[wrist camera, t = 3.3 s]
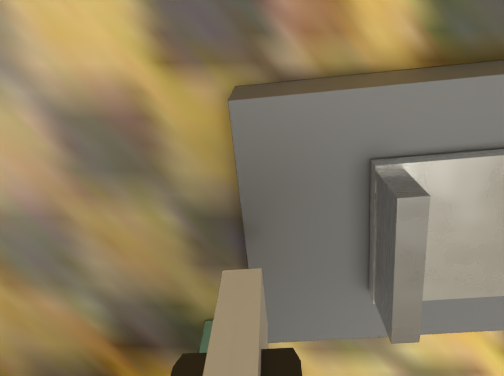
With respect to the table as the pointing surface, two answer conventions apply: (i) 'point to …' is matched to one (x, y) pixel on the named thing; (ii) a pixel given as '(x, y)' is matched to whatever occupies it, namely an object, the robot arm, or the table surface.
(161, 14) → the table surface
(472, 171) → the shutter
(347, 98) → the socket
